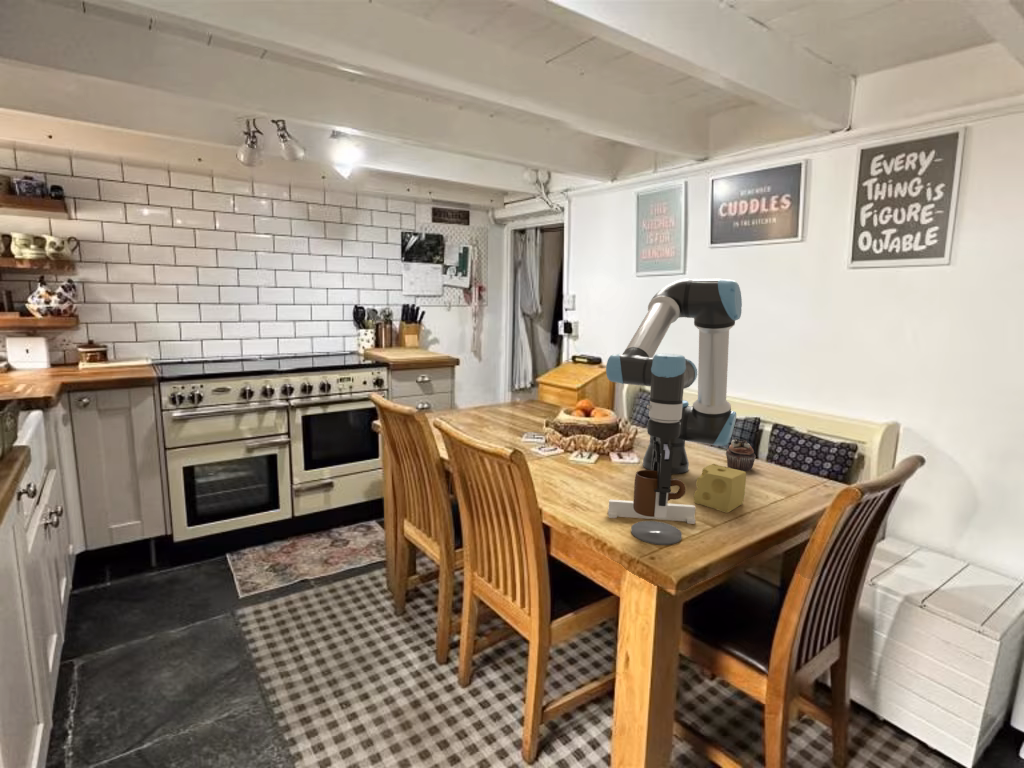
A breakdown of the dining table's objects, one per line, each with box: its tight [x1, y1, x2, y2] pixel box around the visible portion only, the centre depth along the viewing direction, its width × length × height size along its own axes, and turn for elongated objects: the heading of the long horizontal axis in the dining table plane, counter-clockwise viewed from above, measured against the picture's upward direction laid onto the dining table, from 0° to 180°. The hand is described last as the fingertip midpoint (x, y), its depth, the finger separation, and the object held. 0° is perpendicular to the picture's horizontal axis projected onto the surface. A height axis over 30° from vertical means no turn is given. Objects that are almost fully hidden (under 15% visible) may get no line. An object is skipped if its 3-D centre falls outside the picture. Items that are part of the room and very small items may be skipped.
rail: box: [607, 499, 696, 525], centre depth 143 cm, size 4×22×4 cm, turn 83°
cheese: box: [693, 463, 747, 514], centre depth 154 cm, size 10×11×10 cm
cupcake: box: [725, 437, 757, 472], centre depth 189 cm, size 10×10×10 cm
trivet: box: [630, 520, 683, 546], centre depth 134 cm, size 12×12×1 cm
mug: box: [633, 469, 687, 517], centre depth 131 cm, size 12×8×9 cm, turn 65°
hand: (657, 510), depth 133 cm, fingers closed on mug, 7 cm apart
